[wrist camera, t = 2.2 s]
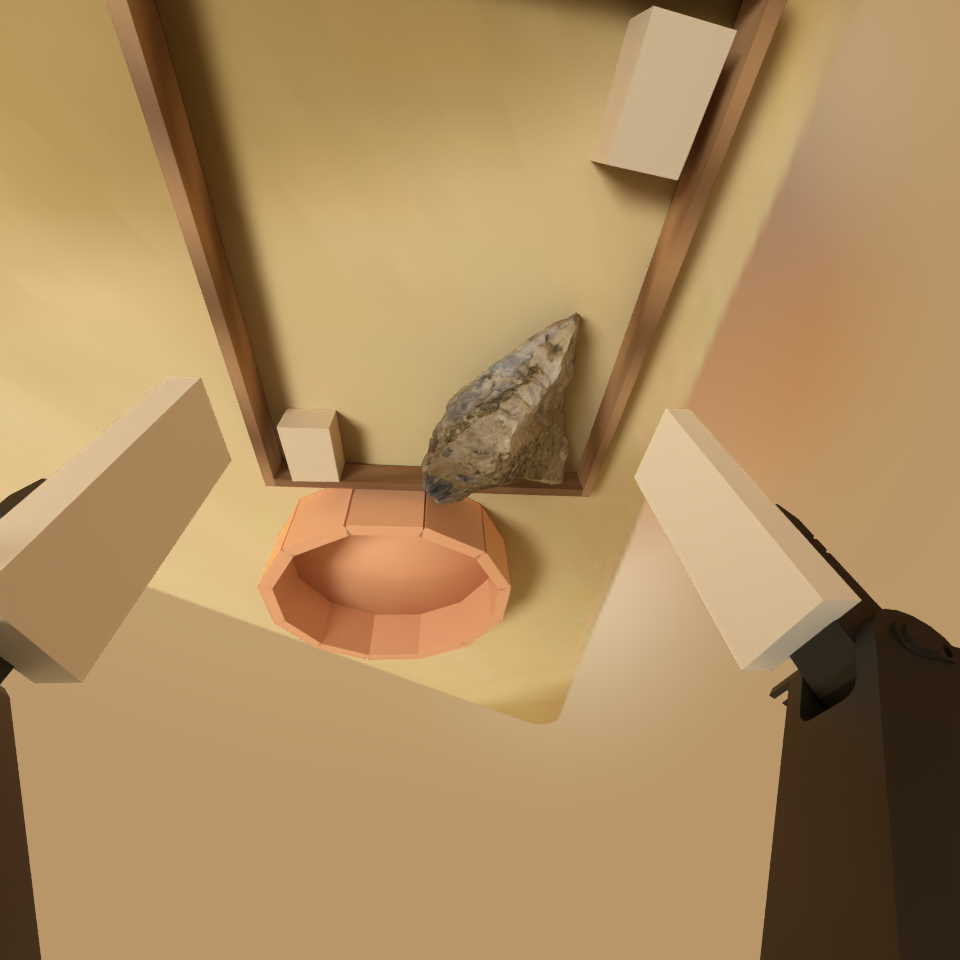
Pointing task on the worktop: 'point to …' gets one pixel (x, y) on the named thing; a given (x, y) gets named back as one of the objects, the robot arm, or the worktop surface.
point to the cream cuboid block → (312, 444)
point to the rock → (506, 421)
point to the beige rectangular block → (660, 91)
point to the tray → (198, 224)
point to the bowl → (386, 574)
